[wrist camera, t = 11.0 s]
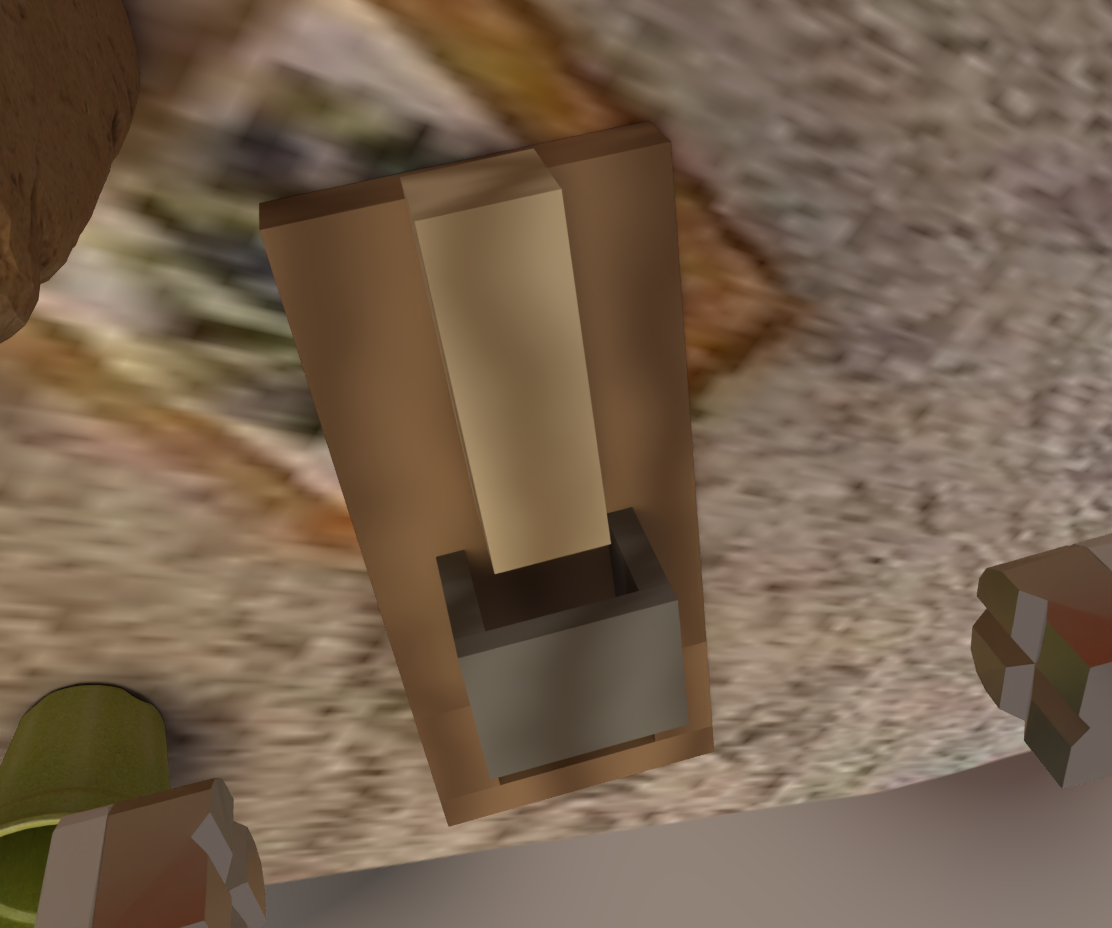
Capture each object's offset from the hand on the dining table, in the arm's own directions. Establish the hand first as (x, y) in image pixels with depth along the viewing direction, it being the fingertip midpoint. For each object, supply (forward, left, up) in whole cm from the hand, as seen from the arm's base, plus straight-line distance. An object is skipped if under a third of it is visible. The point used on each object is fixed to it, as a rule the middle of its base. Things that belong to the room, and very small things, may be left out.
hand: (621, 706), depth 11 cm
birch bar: (-2, +10, -27) cm, 29 cm away
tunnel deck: (-2, +20, -29) cm, 35 cm away
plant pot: (+19, +26, -29) cm, 44 cm away
